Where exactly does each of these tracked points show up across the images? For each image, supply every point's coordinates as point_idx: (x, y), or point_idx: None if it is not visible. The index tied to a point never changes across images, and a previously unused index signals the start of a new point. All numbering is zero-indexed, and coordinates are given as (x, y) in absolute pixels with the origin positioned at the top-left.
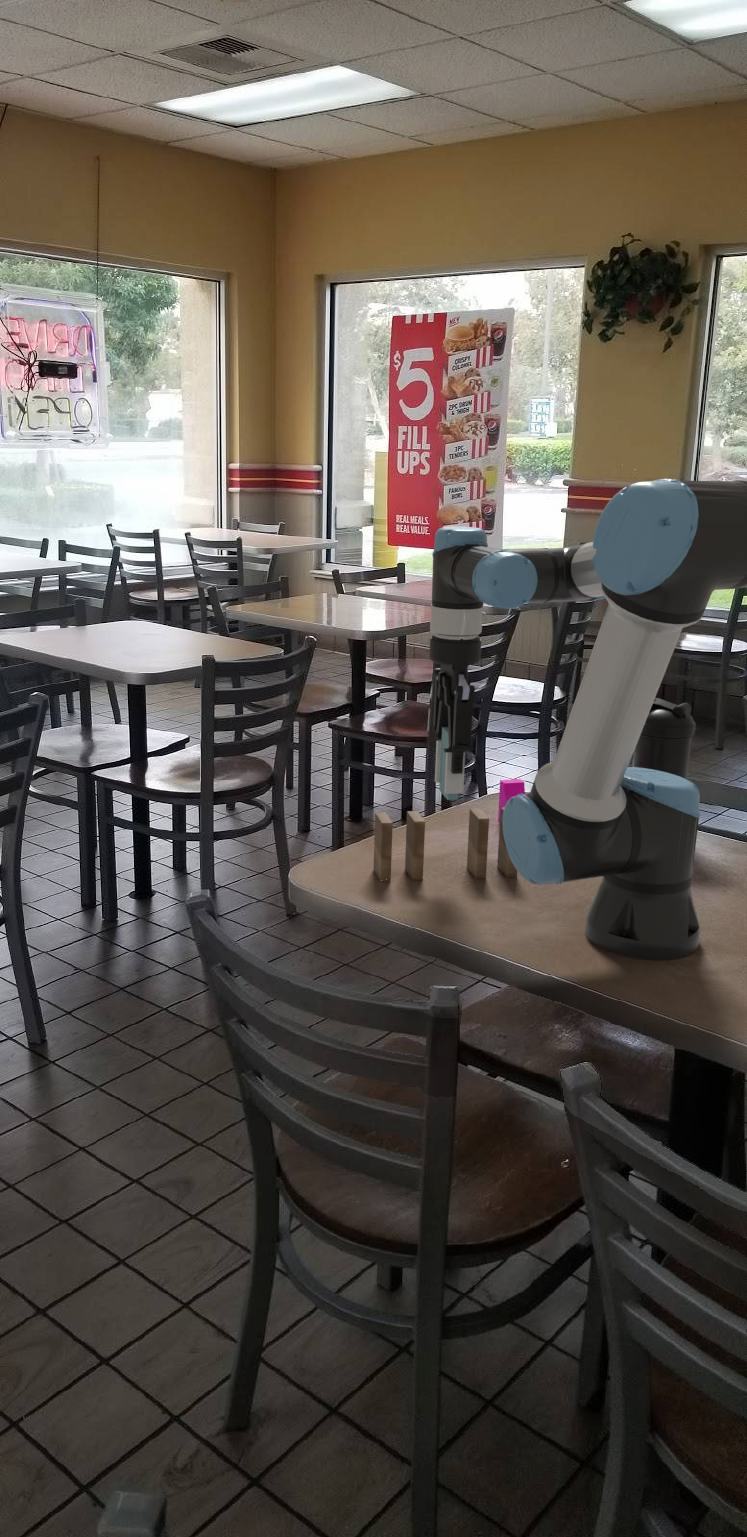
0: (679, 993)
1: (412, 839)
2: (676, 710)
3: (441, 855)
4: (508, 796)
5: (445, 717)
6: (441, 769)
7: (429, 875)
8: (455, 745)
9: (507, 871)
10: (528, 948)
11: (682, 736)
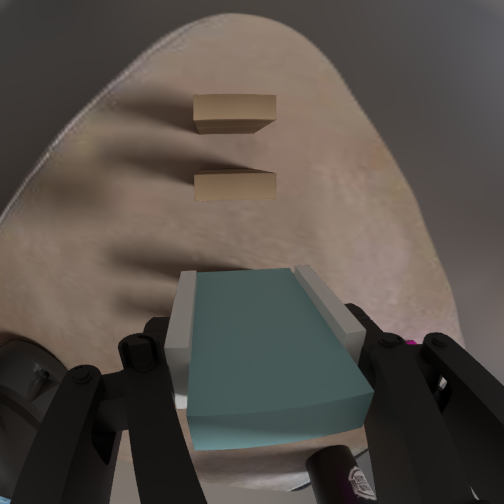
0: None
1: (209, 172)
2: None
3: (317, 244)
4: None
5: (389, 439)
6: (292, 296)
7: (235, 206)
8: (60, 387)
9: None
10: (8, 278)
11: None
